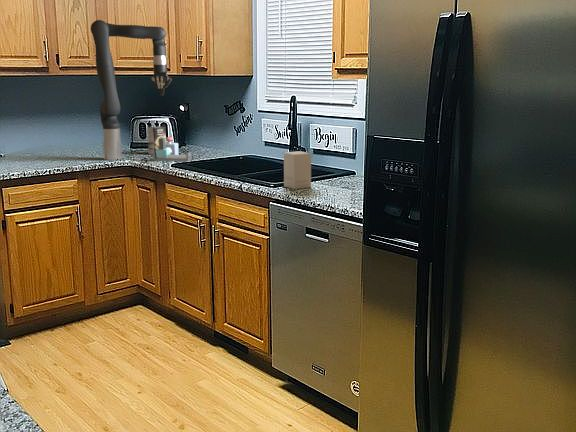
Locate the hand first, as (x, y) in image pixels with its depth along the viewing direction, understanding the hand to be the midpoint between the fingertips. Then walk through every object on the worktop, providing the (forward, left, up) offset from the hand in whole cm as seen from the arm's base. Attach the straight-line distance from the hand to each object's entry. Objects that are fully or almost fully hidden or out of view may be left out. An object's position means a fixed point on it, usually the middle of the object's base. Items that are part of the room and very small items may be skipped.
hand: (161, 95), depth 360 cm
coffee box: (-8, +11, -35) cm, 38 cm away
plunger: (+4, -2, -29) cm, 30 cm away
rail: (+9, -13, -35) cm, 38 cm away
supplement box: (+88, -82, -35) cm, 125 cm away
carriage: (+4, -13, -33) cm, 36 cm away
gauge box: (+4, -2, -35) cm, 35 cm away
